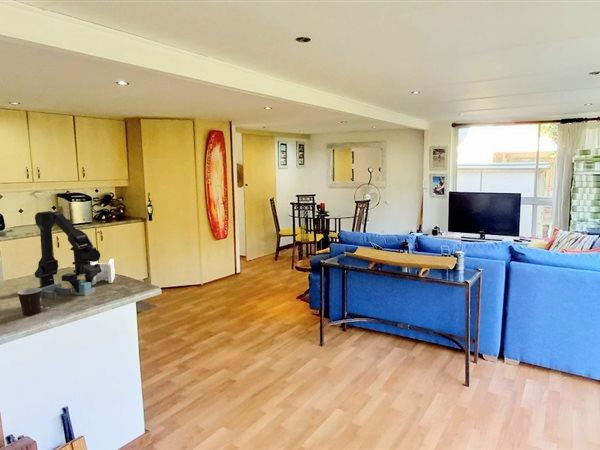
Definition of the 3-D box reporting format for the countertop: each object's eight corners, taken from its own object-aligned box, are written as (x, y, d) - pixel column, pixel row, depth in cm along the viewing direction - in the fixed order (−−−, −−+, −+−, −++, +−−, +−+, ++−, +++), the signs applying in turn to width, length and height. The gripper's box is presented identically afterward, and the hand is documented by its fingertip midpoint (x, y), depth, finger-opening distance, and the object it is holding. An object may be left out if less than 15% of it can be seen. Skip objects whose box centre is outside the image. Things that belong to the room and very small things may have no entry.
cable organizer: (112, 285, 221) (110, 264, 219) (89, 287, 218) (88, 265, 216) (115, 277, 235) (114, 257, 233) (94, 279, 232) (93, 258, 230)
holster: (72, 295, 205) (71, 289, 205) (82, 291, 211) (81, 286, 210) (85, 297, 202) (85, 291, 202) (95, 293, 208) (95, 287, 207)
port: (36, 300, 198) (34, 288, 198) (58, 292, 210) (57, 281, 209) (52, 302, 195) (51, 291, 194) (74, 294, 206) (73, 284, 205)
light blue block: (75, 293, 206) (74, 281, 205) (82, 290, 209) (81, 279, 208) (85, 294, 203) (84, 282, 203) (91, 292, 207) (90, 280, 206)
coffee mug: (27, 309, 186) (24, 288, 184) (47, 309, 187) (45, 287, 185) (11, 320, 174) (8, 296, 173) (33, 319, 175) (30, 296, 174)
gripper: (77, 265, 192) (80, 298, 195) (108, 256, 209) (111, 286, 212) (59, 263, 196) (62, 295, 199) (91, 254, 213) (94, 284, 216)
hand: (83, 290), depth 206 cm, fingers open, 6 cm apart
